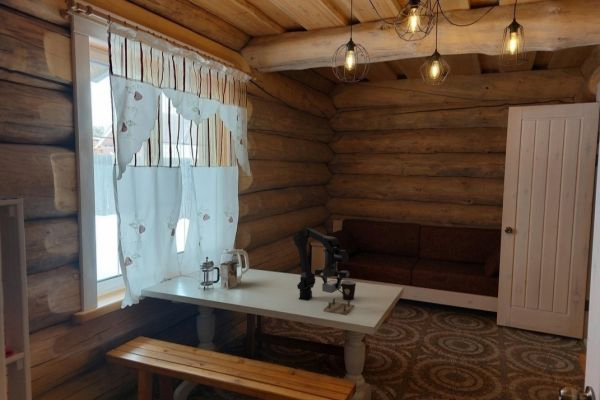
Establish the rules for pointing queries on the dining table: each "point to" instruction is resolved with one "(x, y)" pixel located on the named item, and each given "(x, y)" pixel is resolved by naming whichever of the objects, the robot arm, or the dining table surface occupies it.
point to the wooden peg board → (339, 307)
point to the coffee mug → (348, 289)
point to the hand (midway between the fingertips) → (331, 287)
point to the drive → (330, 286)
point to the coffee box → (228, 274)
